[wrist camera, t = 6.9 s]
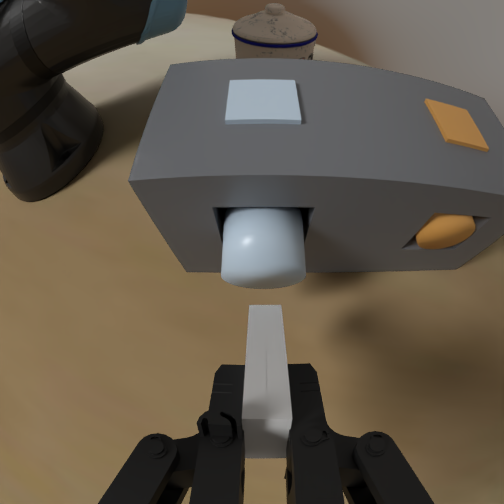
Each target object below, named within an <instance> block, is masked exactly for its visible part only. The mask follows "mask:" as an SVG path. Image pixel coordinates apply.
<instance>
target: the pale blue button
mask: <svg viewBox="0 0 504 504" xmlns="http://www.w3.org/2000/svg"><path fill="white" fill-rule="evenodd" d="M221 277H222V279H223V280H224V281H226V282H228V283H230V284H232V285H236V286H240V287H245V288H254V289H273V288H282V287H287V286H291V285H294V284H297V283H299V282H301V281H302V280H304V279H305V277H306V266H305V249H304V234H303V220H302V213H301V211H300V209H299V208H298V207H229V208H228V209H227V210H226V212H225V216H224V232H223V249H222V267H221Z"/></svg>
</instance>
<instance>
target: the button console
mask: <svg viewBox="0 0 504 504" xmlns="http://www.w3.org/2000/svg"><path fill="white" fill-rule="evenodd" d="M128 182H129V183H130V185H131V187H132V188H133V190H134V192H135V193H136V195H137V196H138V198H139V200H140V201H141V203H142V205H143V206H144V208H145V209H146V211H147V213H148V214H149V216H150V217H151V219H152V220H153V222H154V224H155V225H156V227H157V228H158V230H159V231H160V233H161V234H162V236H163V238H164V239H165V241H166V242H167V244H168V245H169V247H170V248H171V250H172V251H173V253H174V254H175V256H176V257H177V259H178V260H179V262H180V263H181V265H182V266H183V267H184V269H185V270H186V272H221V267H222V249H223V232H224V216H225V212H226V210H227V209H228V208H229V207H298V208H299V209H300V211H301V213H302V220H303V234H304V249H305V266H306V272H377V271H419V270H451V269H457V268H459V267H460V266H462V265H463V264H465V263H466V262H467V261H469V260H470V259H472V258H473V257H475V256H476V255H477V254H479V253H480V252H481V251H483V250H484V249H485V248H487V247H488V246H489V245H491V244H492V243H493V242H495V241H496V240H497V239H499V238H500V237H501V236H502V235H504V128H503V126H502V125H501V123H500V122H499V120H498V118H497V117H496V115H495V114H494V112H493V111H492V109H491V108H490V106H489V105H488V103H487V102H486V101H485V99H484V98H481V97H479V96H477V95H473V94H471V93H468V92H465V91H463V90H460V89H456V88H454V87H450V86H447V85H444V84H441V83H437V82H434V81H430V80H426V79H423V78H419V77H414V76H411V75H406V74H402V73H397V72H393V71H388V70H383V69H378V68H372V67H366V66H360V65H353V64H346V63H337V62H328V61H317V60H304V59H282V58H244V59H222V60H208V61H197V62H188V63H180V64H172V65H170V67H169V69H168V71H167V74H166V76H165V78H164V81H163V83H162V85H161V88H160V90H159V93H158V95H157V97H156V100H155V103H154V105H153V108H152V110H151V113H150V116H149V118H148V121H147V124H146V127H145V129H144V132H143V135H142V138H141V141H140V144H139V147H138V150H137V153H136V156H135V159H134V163H133V166H132V169H131V173H130V176H129V180H128ZM434 213H444V214H457V215H469V216H472V217H473V220H474V223H475V231H474V232H473V234H472V235H471V236H470V237H468V238H467V239H465V240H464V241H462V242H460V243H458V244H456V245H453V246H450V247H446V248H441V249H424V248H421V247H419V246H418V244H417V241H416V236H415V234H416V233H417V232H418V231H419V230H420V228H421V227H422V226H423V225H424V224H425V223H426V222H427V221H428V220H429V219H430V217H431V216H432V215H433V214H434Z"/></svg>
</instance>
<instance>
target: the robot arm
mask: <svg viewBox="0 0 504 504" xmlns="http://www.w3.org/2000/svg"><path fill="white" fill-rule="evenodd" d="M186 7H187V0H0V170H1V172H2V174H3V179H4V182H5V184H6V186H7V187H8V189H9V190H10V191H11V192H12V193H13V194H14V195H15V196H16V197H17V198H18V199H20V200H22V201H26V202H32V201H37V200H40V199H43V198H45V197H47V196H49V195H51V194H53V193H55V192H56V191H58V190H59V189H61V188H62V187H63V186H65V185H66V184H67V183H68V182H69V181H71V180H72V179H73V178H74V177H75V176H76V175H77V174H78V173H79V172H80V171H81V170H82V169H83V168H84V166H85V165H86V164H87V163H88V161H89V160H90V159H91V157H92V156H93V154H94V153H95V151H96V149H97V148H98V146H99V143H100V141H101V138H102V135H103V121H102V119H101V117H100V115H99V113H98V111H97V109H96V108H95V107H94V105H93V104H91V103H90V102H89V101H88V100H86V99H85V98H84V97H83V96H82V95H81V94H80V93H79V92H77V91H76V90H75V89H74V88H73V87H71V86H70V85H69V84H68V83H67V82H66V80H65V79H64V77H63V75H62V73H64V72H65V71H67V70H70V69H72V68H74V67H76V66H78V65H80V64H83V63H85V62H87V61H90V60H92V59H94V58H97V57H99V56H102V55H104V54H107V53H109V52H112V51H115V50H117V49H120V48H123V47H126V46H129V45H132V44H135V43H136V44H137V45H139V44H141V43H143V42H144V41H145V40H148V39H150V38H153V37H157V36H160V35H163V34H166V33H169V32H172V31H174V30H175V29H176V28H177V27H178V26H179V25H180V24H181V23H182V21H183V19H184V17H185V13H186ZM197 426H198V430H199V433H198V434H196V435H194V436H191V437H188V438H182V439H175V440H173V439H172V438H170V437H168V436H167V435H164V434H159V433H157V434H150V435H148V436H146V437H144V438H143V439H142V440H141V441H140V442H139V443H138V444H137V446H136V447H135V449H134V451H133V452H132V454H131V455H130V457H129V458H128V460H127V461H126V463H125V464H124V466H123V467H122V469H121V470H120V472H119V473H118V475H117V476H116V478H115V479H114V481H113V482H112V483H111V485H110V486H109V488H108V489H107V491H106V492H105V494H104V495H103V497H102V498H101V500H100V501H99V503H98V504H181V503H182V501H183V499H184V497H185V495H186V493H187V491H188V489H189V487H192V490H191V496H190V502H189V504H243V500H244V479H245V467H244V465H245V458H286V459H287V467H286V472H285V477H284V479H286V491H287V504H344V497H343V492H344V494H345V496H346V498H347V500H348V502H349V504H434V502H433V501H432V499H431V498H430V496H429V495H428V493H427V491H426V490H425V488H424V487H423V485H422V484H421V482H420V481H419V479H418V477H417V476H416V474H415V473H414V471H413V470H412V468H411V467H410V465H409V464H408V462H407V461H406V459H405V457H404V456H403V454H402V453H401V451H400V450H399V448H398V447H397V445H396V444H395V442H394V441H393V439H392V438H391V437H390V436H389V435H387V434H385V433H383V432H377V431H373V432H368V433H366V434H364V435H363V436H361V437H360V438H356V437H349V436H344V435H340V434H338V433H336V432H334V431H333V430H332V429H331V428H330V427H329V426H328V424H327V422H326V418H325V413H324V407H323V402H322V397H321V392H320V386H319V381H318V376H317V372H316V371H315V369H314V368H313V367H312V366H311V364H310V363H309V364H287V356H286V346H285V336H284V327H283V317H282V308H281V305H249V317H248V332H247V347H246V363H245V365H221V366H220V368H219V369H218V370H217V371H216V373H215V377H214V383H213V388H212V394H211V400H210V406H209V411H207V412H205V413H204V414H202V415H201V416H200V417H199V419H198V421H197ZM342 490H343V491H342Z"/></svg>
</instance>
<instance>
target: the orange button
mask: <svg viewBox="0 0 504 504" xmlns="http://www.w3.org/2000/svg"><path fill="white" fill-rule="evenodd" d="M474 231H475V223H474V220H473V217H472V216H469V215H457V214H444V213H434V214H433V215H432V216H431V217H430V219H429V220H428V221H427V222H426V223H425V224H424V225H423V226H422V227H421V228H420V230H419V231H418V232H417V233H416V234H415V236H416V241H417V244H418V246H419V247H421V248H424V249H441V248H446V247H450V246H453V245H456V244H458V243H460V242H462V241H464V240H465V239H467V238H468V237H470V236H471V235H472V234H473V232H474Z"/></svg>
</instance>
